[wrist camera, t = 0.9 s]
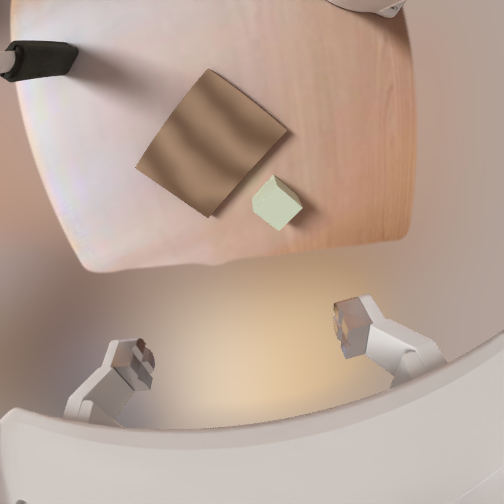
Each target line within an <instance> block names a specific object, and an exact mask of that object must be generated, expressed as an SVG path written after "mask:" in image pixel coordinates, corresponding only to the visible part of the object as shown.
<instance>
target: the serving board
mask: <svg viewBox="0 0 504 504" xmlns="http://www.w3.org/2000/svg"><path fill="white" fill-rule="evenodd" d="M286 131H287V130H286V129H285V128H284V127H283V126H282V125H281V124H280V123H278V122H277V121H276V120H275V119H274V118H273V117H271V116H270V115H269V114H268V113H267V112H265V111H264V110H263V109H262V108H261V107H259V106H258V105H257V104H256V103H254V102H253V101H252V100H251V99H249V98H248V97H247V96H245V95H244V94H243V93H242V92H240V91H239V90H238V89H236V88H235V87H234V86H232V85H231V84H230V83H228V82H227V81H225V80H224V79H223V78H221V77H220V76H218V75H217V74H216V73H214V72H213V71H211V70H210V69H207V70H206V71H205V73H204V74H203V75H202V76H201V77H200V78H199V80H198V81H197V82H196V83H195V84H194V86H193V87H192V88H191V89H190V90H189V92H188V93H187V94H186V95H185V97H184V98H183V99H182V101H181V102H180V103H179V104H178V106H177V107H176V108H175V110H174V111H173V112H172V114H171V115H170V116H169V118H168V119H167V121H166V122H165V123H164V125H163V126H162V128H161V129H160V130H159V132H158V133H157V135H156V136H155V138H154V139H153V141H152V142H151V144H150V145H149V147H148V148H147V150H146V151H145V153H144V154H143V156H142V158H141V159H140V161H139V162H138V164H137V166H136V167H135V168H136V169H137V170H139V171H140V172H142V173H143V174H145V175H146V176H148V177H149V178H151V179H152V180H153V181H155V182H156V183H158V184H159V185H161V186H162V187H164V188H165V189H166V190H168V191H169V192H171V193H172V194H174V195H175V196H177V197H178V198H180V199H181V200H182V201H184V202H185V203H187V204H188V205H190V206H191V207H193V208H194V209H195V210H197V211H198V212H200V213H201V214H203V215H204V216H206V217H207V218H209V217H210V215H211V214H212V213H213V212H214V211H215V210H216V208H217V207H218V206H219V205H220V204H221V203H222V201H223V200H224V199H225V198H226V197H227V196H228V194H229V193H230V192H231V191H232V190H233V189H234V188H235V187H236V185H237V184H238V183H239V182H240V181H241V180H242V179H243V178H244V176H245V175H246V174H247V173H248V172H249V171H250V170H251V169H252V168H253V167H254V165H255V164H256V163H257V162H258V161H259V160H260V159H261V158H262V157H263V156H264V155H265V154H266V152H267V151H268V150H269V149H270V148H271V147H272V146H273V145H274V144H275V143H276V142H277V141H278V140H279V139H280V138H281V137H282V136H283V135H284V133H285V132H286Z"/></svg>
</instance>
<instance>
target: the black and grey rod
mask: <svg viewBox="0 0 504 504" xmlns="http://www.w3.org/2000/svg"><path fill="white" fill-rule="evenodd" d="M77 55H78V49H77V48H73V47H71V46H69V45H67V43H66V42H54V41H13V42H11V43H10V45H9V46H8V48H7V49H6V50H5V51H4V52H0V76H1V77H3V78H4V79H6V80H7V81H9V82H16V81H22V80H28V79H34V78H42V77H50V76H60V75H65V74H67V73H68V71H69V69H70V67H71V66H72V64H73V62H74V60H75V59H76V57H77Z"/></svg>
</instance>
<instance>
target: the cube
mask: <svg viewBox="0 0 504 504" xmlns="http://www.w3.org/2000/svg"><path fill="white" fill-rule="evenodd" d="M252 205H253V212H254V213H256V214H257V215H258V216H260V217H261V218H262V219H264V220H265V221H266V222H268V223H269V224H270V225H272V226H273V227H274V228H275V229H277V230H278V231H280V230H281V229H282V228H283V227H284V226H285V225H286V224H287V223H288V222H289V221H290V220H291V219H292V218H293V217H294V216H295V215H296V214H297V213H298V212H299V211H300V210H301V209H302V208H303V207H302V205H301V203H300V200H299V198H298V196H297V194H296V193H294V192H293V191H292V190H291V189H290V188H289V187H287V186H286V185H285V184H284V183H283V182H282V181H280V180H279V179H278V178H277V177H276V176H274V175H273V176H272V177H271V178H270V179H269V180H268V181H267V182H266V183H265V184H264V185H263V186H262V187H261V189H260V190H259V191H258V192H257V193H256V194H255V195H254V196H253V197H252Z"/></svg>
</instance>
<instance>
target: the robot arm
mask: <svg viewBox="0 0 504 504" xmlns="http://www.w3.org/2000/svg"><path fill="white" fill-rule="evenodd" d="M327 1H329V2H331V3H333V4H335V5H337V6H339V7H342V8H345V9H348V10H352V11H357V12H372V13H376V14H378V15H381V16H383V17H386V18H392V17H394V16H395V15H396V14H397V13H398V11H399V10H400V8H401V7H402V6H403V4H404V3H405V1H406V0H327ZM390 7H392V9H391V8H390ZM333 310H334V312H335V316H334V318H333V322H334V323H333V324H334V329H335V333H336V336H337V339H339V340H340V341H341V349H342V351H343V354H344V356H345V359H348V358H352V357H355V356H359V355H363V354H365V355H366V356H367V357H369V358H370V359H371V360H373V361H374V362H375V363H377V364H378V365H379V366H381V367H382V368H384V369H385V370H386V371H388V372H389V373H391V374H392V375H393V376H394V379H393V381H392V383H391V386H390V388H389V390H386V391H383V392H380V393H378V394H375V395H372V396H369V397H366V398H363V399H360V400H357V401H354V402H350V403H347V404H344V405H340V406H337V407H333V408H329V409H325V410H321V411H318V412H313V413H309V414H305V415H300V416H295V417H290V418H285V419H280V420H274V421H268V422H262V423H254V424H247V425H239V426H229V427H218V428H203V429H138V428H124V427H122V426H121V425H120V424H119V423H117V422H116V421H115V418H116V417H117V416H118V414H119V413H120V412H121V410H122V409H123V407H124V406H125V405H126V403H127V402H128V400H129V399H130V398H131V396H132V395H133V393H134V391H140V390H150V389H151V384H152V376H151V373H152V372H153V370H154V367H155V360H154V356H153V354H152V352H151V351H150V350H149V349H147V348H146V347H145V345H146V343H145V342H144V340H143V339H141V338H136V339H121V340H112V341H111V342H110V344H109V347H108V350H107V353H106V355H105V358H104V361H103V364H102V367H101V368H98V369H97V370H96V371H95V372H94V373H93V374H92V375H91V376H90V377H89V378H88V379H87V380H86V381H85V382H84V383H83V384H82V385H81V386H80V387H79V388H78V389H77V390H76V391H75V392H74V393H73V394H72V395H71V396H70V397H69V399H68V402H67V406H66V409H65V412H64V415H63V419H61V418H57V417H52V416H48V415H44V414H40V413H36V412H32V411H28V410H25V409H22V408H18V407H15V408H13V409H12V410H10V411H9V412H8V413H7V414H6V415H5V416H4V417H3V418H1V419H0V504H504V330H503V331H501V332H499V333H498V334H497V335H495V336H494V337H492V338H490V339H489V340H487V341H486V342H484V343H482V344H481V345H479V346H477V347H476V348H474V349H472V350H471V351H469V352H467V353H465V354H464V355H462V356H460V357H459V358H456V359H455V360H453V361H451V362H449V363H447V361H446V360H445V358H444V357H443V355H442V353H441V352H440V350H439V348H438V347H437V345H436V344H435V342H434V341H433V340H431V339H428V338H427V337H425V336H422V335H421V334H419V333H416V332H415V331H412V330H410V329H408V328H406V327H404V326H402V325H400V324H398V323H396V322H394V321H392V320H390V319H387V320H386V319H385V318H384V316H383V314H382V313H381V311H380V309H379V308H378V307H377V305H376V303H375V301H374V300H373V298H372V297H371V295H370V294H365V295H361V296H358V297H355V298H351V299H347V300H344V301H340V302H336V303H334V309H333Z"/></svg>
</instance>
